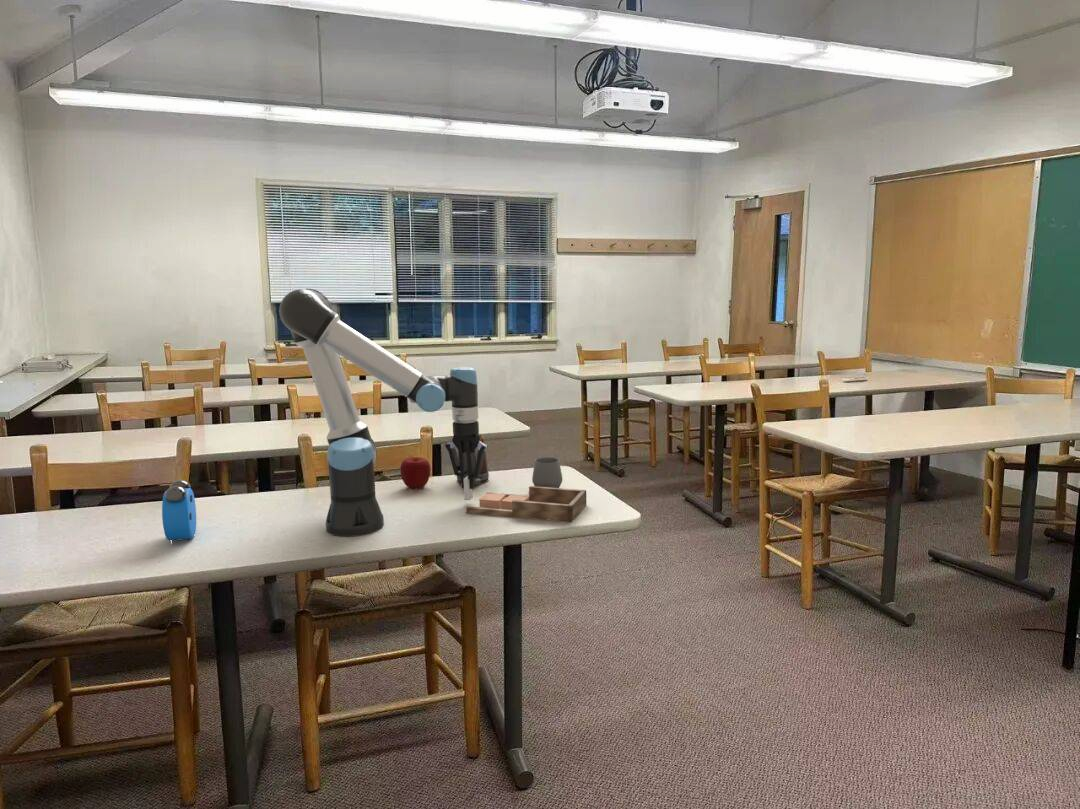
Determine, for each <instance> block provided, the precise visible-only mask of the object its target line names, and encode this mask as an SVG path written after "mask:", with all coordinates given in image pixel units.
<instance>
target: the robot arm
mask: <svg viewBox="0 0 1080 809" xmlns="http://www.w3.org/2000/svg"><path fill="white" fill-rule="evenodd" d="M278 312H279V318H280V320H281V322H282V324H283V325H284V326H285V327H286V329H288V330H290V333H291V336H292V339H293V342H294V343H295V344H294V345H296V346H298V347H300V348H301V349H302V350H303V353H304V356H305V359H306V362H307V366H308V368H309V371H310V375H311V377H312V380H313V383H314V386H315V390H316V392H317V395H318V398H319V401H320V405H321V406H322V407H321V408H322V410H323V413H324V416H325V420H326V422H327V425H328V428H329V431H328V433H327V435H326V439H327V444H328V448H327V453H326V460H327V462H328V463H327V465H328V466H327V467H328V477H329V478H328V479H329V491H330V492H329V493H330V504H329V508H328V510H327V516H326V520H325V530H326V532H327V533H328V534H329V533H330V535H332V534H333V535H332V536H336V535H337V536H338V537H356V536H357V537H359V536H364V535H367V534H372V533H375V532H377V531H378V530H380V529H382V528H383V527H384V524H385V521H384V514H383V512H382V510H381V507H380V505H379V502H378V500H377V496H376V479H375V465H376V461H377V457H378V448H377V445H376V443H375V442H374V439H373V438H372V436H371V433H370V430H369V427H368V424H367V423H365V422H364V421H361V419H360V417H359V413H358V411H357V408H356V405H355V401H354V399H353V395H352V392H351V389H350V386H349V382H348V379H347V376H346V373H345V370H344V366H343V364H342V361H341V357H343V358H344V359H346V361H348V362H351V363H352V364H353V365H355V366H356V367H358V368H360V369H361V370H363V371H364V372H367V373H368V374H369V375H370V376H373V377H374V378H376V379H378V381H379V382H382V383H383V384H386V385H387V386H388V387H390V388H391V389H393V390H395V391H396V392H398V393H400V394H401V395H403V396H404V397H406V398H407V399H409V402H410V403H412V404H417V406H418V407H419V408H420V409H421V410H422V411H423V412H426V413H435V412H438V411H439V410H440V409H441V408H442V407H443V406H444V404H445V402H446V403H447V402H451V413H452V415H451V416H452V420H453V422H452V434H453V436H452V439H451V441H450V442H447V443H445V445H444V447H445V448H446V450H447V452H448V454H449V458H450V462H451V463H450V464H451V466H452V470H453V473H454V476H456V477H457V476H459V477H460V478H461V483H460V487H461V489H463V498H464V499H463V500H464V501H471V500H472V499H473V498H474V497H473V493H474V492H473V489H474V488H475V487H476V485H475V477H477V476H479V475H480V474H481V470H482V465H483V460H484V455H485V451H487V450H488V448H489V445H488V444H487V443H485V444H483V443H482V442H481V440H480V437H479V434H480V429H479V428H480V426H479V423H480V422H479V421H478V420H479V403H478V402H479V399H478V396H479V395H478V377H477V370H476V369H475V368H474V367H471V366H458V367H452V368H451V369H450V372H449V374H447V375H446V374H445V375H424V374H423V373H421V372H420V371H418V370H417V369H416V368H414V367H412V366H411V365H409V364H407V363H406V362H405V361H403V360H402V359H400V358H399V357H397V356H396V355H394V354H392V353H391V352H389V351H387V349H385V348H383V347H381V346H380V345H378V344H377V343H376V342H374V341H372V340H371V339H369V338H368V337H366V336H364V335H363V334H362V333H360V332H358V331H357V330H355V329H354V328H352V327H351V326H349V325H348V324H346V323H345V322H343V321H342V320H341V319H340V316H339V314H338V313H337V312H335V311H334V310H333V307H332V304H331V302H330V300H329V299H328V297H326V295H324V293H322V292H321V291H318V290H317V289H312V288H300V289H299V288H298V289H295V290H292V291H290V292H289V293H287V294H286V295H285V296H284V297H283V298H282V299H281V302H280V304H279V311H278ZM340 356H341V357H340ZM477 446H479V447H478V449H479V452H478V456H477V461H476V466H475V449H476V448H477ZM457 451H458V452H457ZM458 454H459V460H458ZM466 454H467V455H466ZM467 459H468V474H467ZM459 461H460V464H459ZM467 475H468V476H467Z"/></svg>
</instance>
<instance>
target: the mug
mask: <svg viewBox="0 0 1080 809" xmlns="http://www.w3.org/2000/svg"><path fill="white" fill-rule="evenodd" d="M479 437H480V440H481V442H482V443H483V444H486V442H485V437H484V435H482V434H480V433H479ZM478 447H479V446H477V448H476V449H475V466H476V461H477V456H478V452H479V449H478ZM486 451H487V450H486ZM486 451H485V455H484V460H483V465H482V470H481V474H480V475H479V476H477V477H475V486H476V485H477V486H478V485H482V484H486V483H487V482H488V481H489V477H490V473H489V468H488V462H487V461H488V460H487V452H486ZM466 455H467V454H466ZM457 456H458V460H459V454H458V453H457ZM459 464H460V461H459ZM467 474H468V459H467ZM467 476H468V475H467ZM456 480H457V482H458V483H459V484H461V478H460V477H459V476H456Z"/></svg>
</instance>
